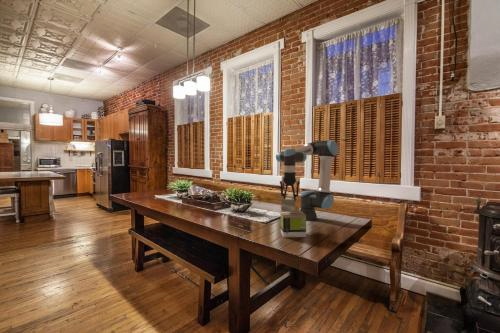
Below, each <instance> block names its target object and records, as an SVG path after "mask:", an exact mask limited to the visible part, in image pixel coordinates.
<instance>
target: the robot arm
mask: <svg viewBox="0 0 500 333" xmlns="http://www.w3.org/2000/svg"><path fill="white" fill-rule="evenodd" d="M338 154H339V147H338V144H337V142H336V141H335V140H332V139H331V140H315V141H312V142H308V143H305V144H304V145H302V146H299V147H296V148H285V149H284V151H278V152H277V153H276V155H275V159H276V161H277V162H279V163H283V171H284V172H283V180H280V181H279V184H280V196H282V197H283V199H286V197H287V192H288V187H289V186H291V190H292V191H291V192H292V194H293V196H294V197H293V199H295V202H297V201H296V200H297V199H296V198H297V197H299V192H300V190H299V189H300V188H299V186H300V182H301V181H300V180H299V181H298V180H297V179H296V163H297V164H299V163H304V162H306V161H307V157H308V156H319V157H318V158H319V159H320V167H319V177H318V185H317V186H318V187H317V189H316V190H313V189H312V190H302V191H301V192H300V209H299V212H303V213H304V214H305V215H306V221H316V220H317V219H318V215H317V212H316V208H317V209H323V210H329V209H331V208H332V207H333V205H334V202H335V199H334V198H335V197H334V195H333V194H332V191H331V190H330V189H331V188H330V186H331V178H332V177H331V176H332V166H333V165H332V164H333V159H335V156H336V155H338ZM294 184H296V191H295V186H294ZM284 185H285V186H284ZM284 187H285V189H284Z"/></svg>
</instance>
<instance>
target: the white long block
mask: <svg viewBox="0 0 500 333" xmlns="http://www.w3.org/2000/svg"><path fill="white" fill-rule="evenodd" d="M286 196H287V197H286V199H284V198H281V211H286V212H296V211H295V210H296V208H295V206H296V205H295V204H296V201H295V199H293V197H294V196H293V192H289V193H288V194H286Z"/></svg>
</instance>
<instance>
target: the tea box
mask: <svg viewBox="0 0 500 333" xmlns="http://www.w3.org/2000/svg"><path fill="white" fill-rule="evenodd" d="M280 234H281V236H282V238H306V237H307V220H306V215H305V214H304V213H303V212H300V211H281V212H280Z"/></svg>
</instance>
